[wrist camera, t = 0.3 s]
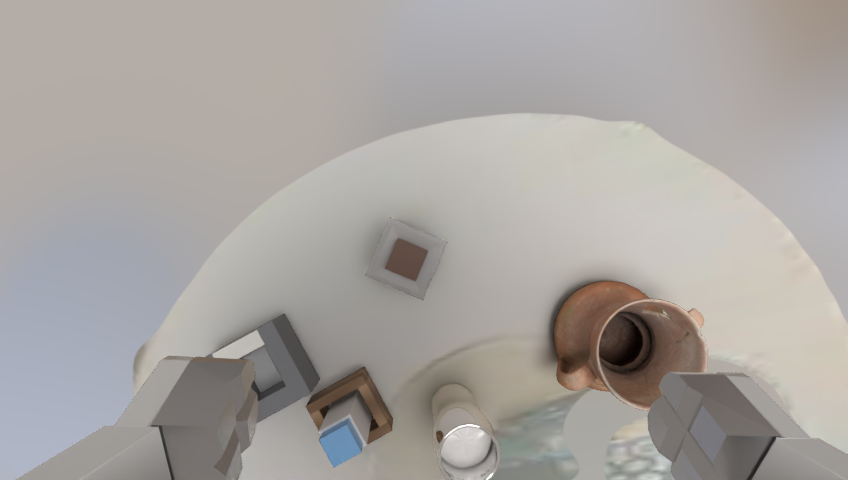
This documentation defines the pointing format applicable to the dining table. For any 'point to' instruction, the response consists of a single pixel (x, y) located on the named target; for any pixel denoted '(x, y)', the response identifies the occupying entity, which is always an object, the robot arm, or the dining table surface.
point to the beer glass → (463, 436)
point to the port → (276, 364)
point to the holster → (343, 387)
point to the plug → (345, 428)
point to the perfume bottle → (406, 258)
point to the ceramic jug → (625, 342)
